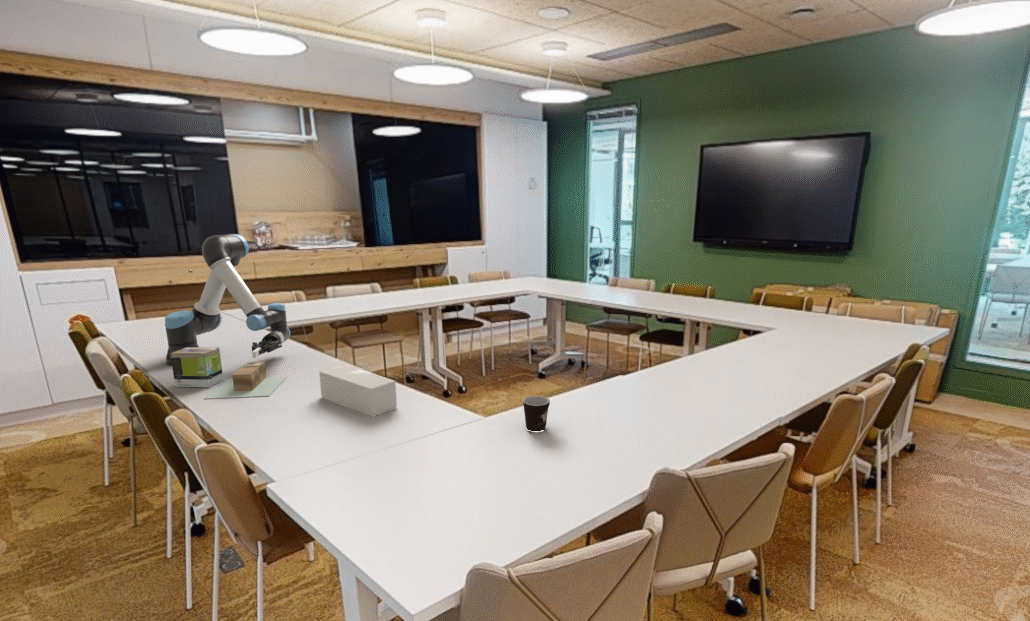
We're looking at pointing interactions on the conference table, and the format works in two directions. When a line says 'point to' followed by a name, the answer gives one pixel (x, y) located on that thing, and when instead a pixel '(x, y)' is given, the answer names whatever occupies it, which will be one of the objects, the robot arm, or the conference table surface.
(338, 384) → the stack of papers
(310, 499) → the conference table surface
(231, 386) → the mat
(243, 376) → the walnut block
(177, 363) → the tea box
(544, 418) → the coffee mug
